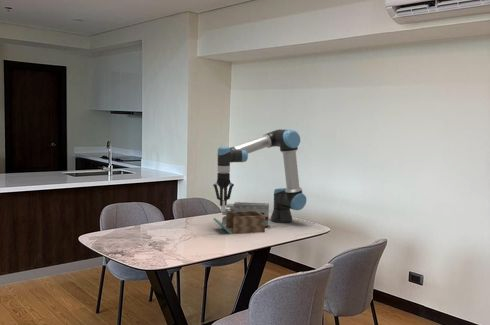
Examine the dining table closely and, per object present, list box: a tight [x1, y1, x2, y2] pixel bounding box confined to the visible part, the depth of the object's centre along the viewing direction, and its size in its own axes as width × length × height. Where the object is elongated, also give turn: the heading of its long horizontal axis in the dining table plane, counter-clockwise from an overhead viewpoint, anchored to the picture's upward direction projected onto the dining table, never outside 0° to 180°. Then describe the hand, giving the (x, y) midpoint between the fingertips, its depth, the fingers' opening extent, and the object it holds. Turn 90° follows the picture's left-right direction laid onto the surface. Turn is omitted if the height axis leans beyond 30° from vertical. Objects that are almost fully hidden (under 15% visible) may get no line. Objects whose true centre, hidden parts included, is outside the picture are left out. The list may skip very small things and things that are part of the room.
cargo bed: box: [225, 211, 266, 235], centre depth 275 cm, size 20×16×12 cm
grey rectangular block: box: [221, 201, 270, 227], centre depth 293 cm, size 8×30×15 cm, turn 84°
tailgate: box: [213, 217, 234, 235], centre depth 270 cm, size 1×16×10 cm
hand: (223, 211), depth 270 cm, fingers closed
